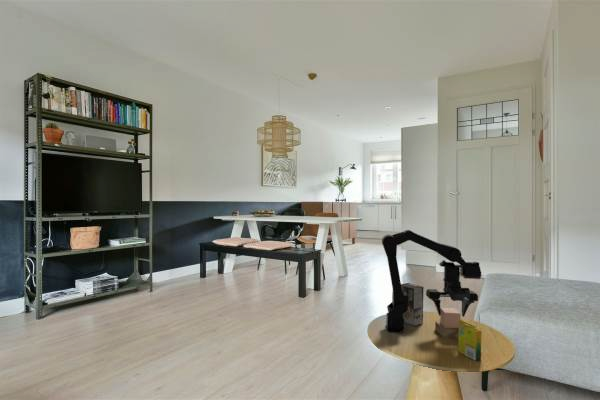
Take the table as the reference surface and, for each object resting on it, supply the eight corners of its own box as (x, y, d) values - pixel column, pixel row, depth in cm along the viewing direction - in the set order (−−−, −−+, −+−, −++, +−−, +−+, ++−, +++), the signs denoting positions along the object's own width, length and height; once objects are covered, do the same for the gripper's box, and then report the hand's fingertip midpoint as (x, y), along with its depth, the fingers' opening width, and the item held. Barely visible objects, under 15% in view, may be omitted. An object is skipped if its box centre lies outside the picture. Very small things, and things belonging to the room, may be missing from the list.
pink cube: (444, 327, 135) (444, 312, 135) (440, 322, 141) (440, 307, 141) (460, 328, 134) (460, 313, 134) (455, 323, 140) (455, 308, 140)
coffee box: (423, 323, 150) (424, 286, 150) (413, 325, 146) (414, 288, 146) (407, 317, 157) (408, 282, 157) (397, 319, 154) (398, 283, 154)
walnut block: (444, 339, 133) (444, 329, 133) (435, 330, 142) (435, 321, 142) (467, 340, 133) (467, 329, 133) (456, 331, 142) (456, 321, 142)
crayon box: (481, 359, 116) (482, 325, 116) (475, 361, 115) (475, 326, 115) (464, 350, 123) (464, 318, 123) (457, 351, 122) (458, 319, 122)
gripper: (434, 281, 131) (433, 322, 131) (484, 283, 129) (484, 324, 129) (426, 275, 142) (425, 312, 142) (472, 276, 140) (472, 314, 140)
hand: (451, 316), depth 138 cm, fingers open, 9 cm apart
